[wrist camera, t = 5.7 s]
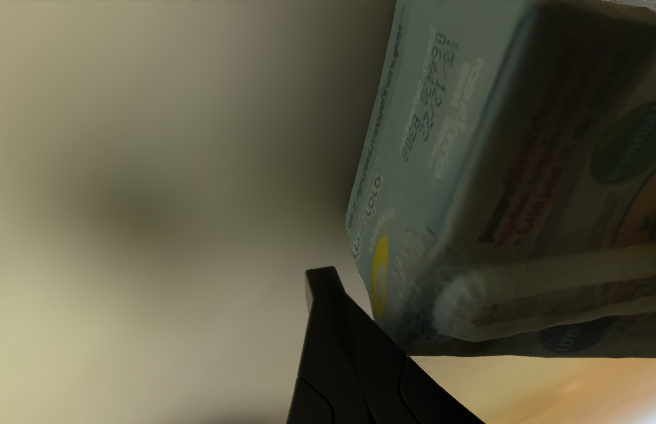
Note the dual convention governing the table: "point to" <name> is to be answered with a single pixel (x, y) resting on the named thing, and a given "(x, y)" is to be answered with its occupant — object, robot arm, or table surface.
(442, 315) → the printed cardboard box
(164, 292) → the table surface
